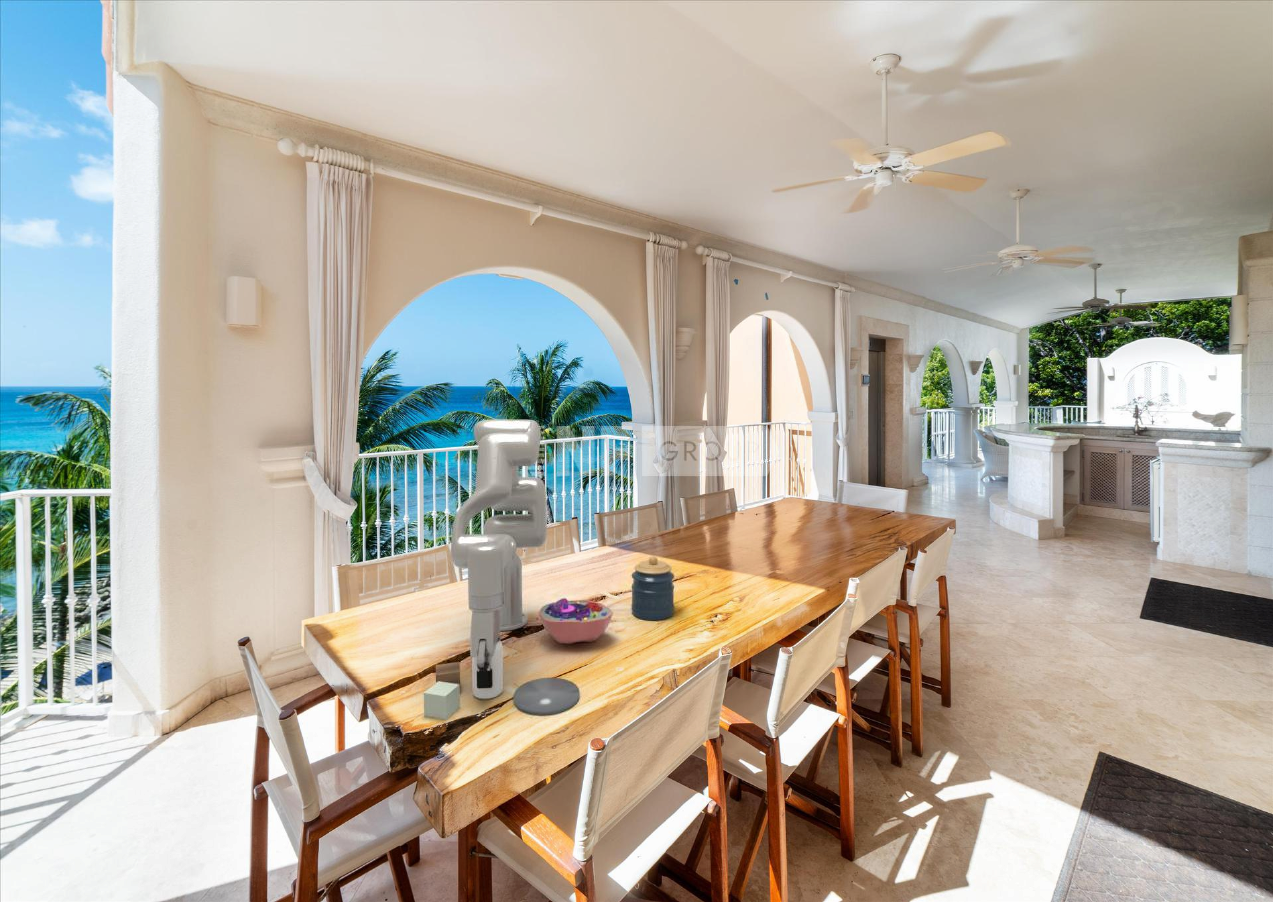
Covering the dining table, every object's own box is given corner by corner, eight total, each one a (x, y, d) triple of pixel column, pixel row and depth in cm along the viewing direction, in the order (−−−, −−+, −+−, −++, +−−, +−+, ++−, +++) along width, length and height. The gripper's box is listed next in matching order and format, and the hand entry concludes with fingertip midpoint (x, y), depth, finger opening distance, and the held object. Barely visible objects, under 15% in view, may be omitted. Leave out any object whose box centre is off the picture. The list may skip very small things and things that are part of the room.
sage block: (439, 703, 119) (438, 681, 119) (459, 707, 118) (459, 684, 118) (424, 716, 115) (423, 692, 114) (445, 720, 113) (445, 696, 113)
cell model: (603, 657, 142) (603, 613, 141) (528, 650, 146) (527, 607, 145) (619, 631, 158) (619, 591, 157) (551, 625, 162) (550, 586, 161)
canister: (626, 608, 176) (626, 552, 175) (665, 603, 180) (665, 549, 179) (638, 623, 164) (639, 563, 162) (680, 618, 168) (681, 560, 166)
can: (505, 685, 127) (505, 633, 126) (499, 700, 121) (499, 645, 120) (476, 685, 127) (475, 633, 126) (469, 700, 121) (468, 646, 120)
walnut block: (436, 686, 127) (435, 664, 126) (459, 683, 128) (459, 661, 128) (436, 697, 122) (435, 675, 122) (460, 693, 124) (460, 671, 123)
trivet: (517, 682, 128) (517, 678, 128) (579, 680, 130) (579, 676, 130) (509, 716, 115) (509, 711, 115) (578, 713, 116) (578, 709, 116)
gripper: (476, 587, 131) (478, 662, 132) (459, 614, 113) (461, 700, 115) (509, 586, 131) (510, 661, 133) (497, 613, 114) (498, 699, 115)
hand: (487, 678), depth 124 cm, fingers closed on can, 6 cm apart
